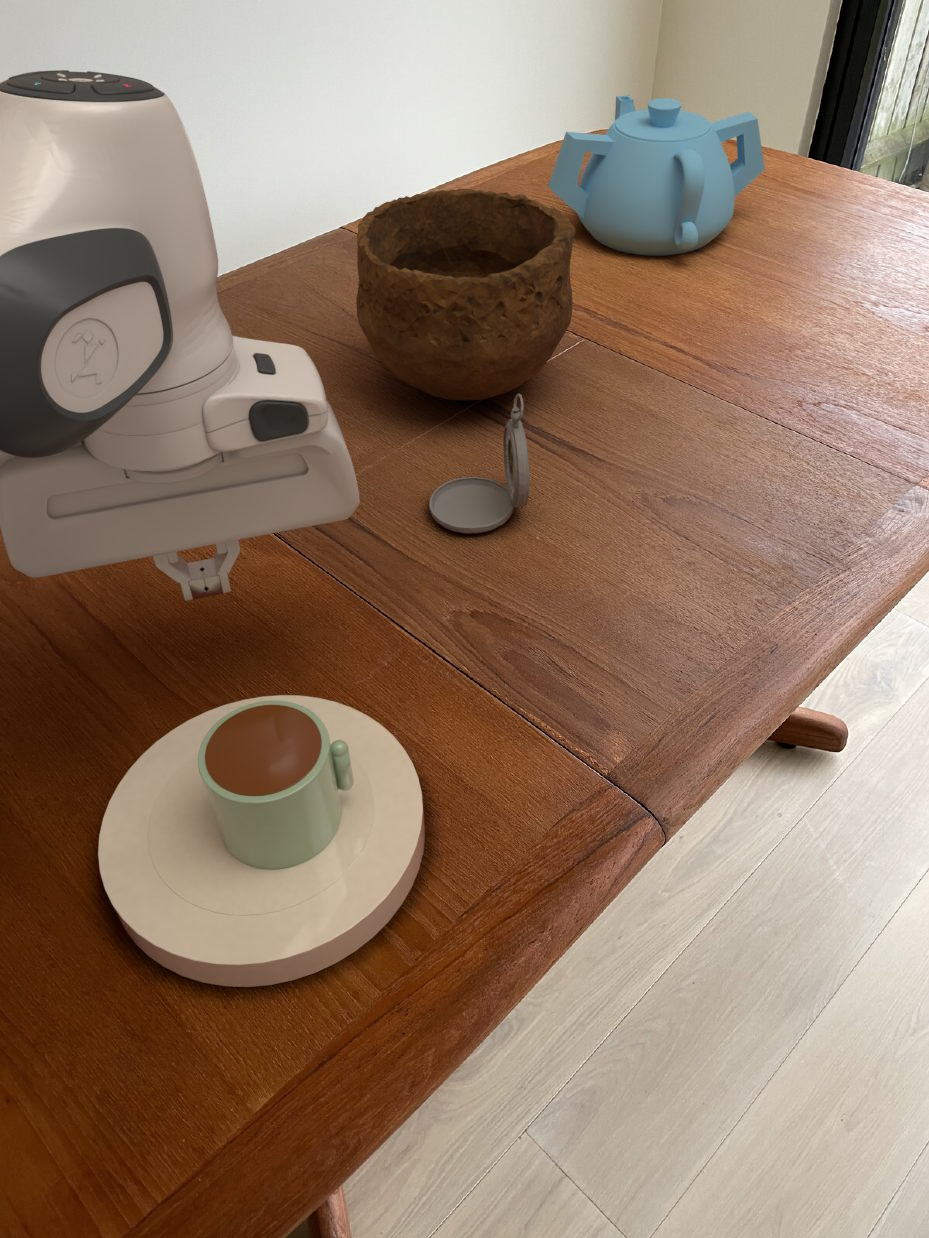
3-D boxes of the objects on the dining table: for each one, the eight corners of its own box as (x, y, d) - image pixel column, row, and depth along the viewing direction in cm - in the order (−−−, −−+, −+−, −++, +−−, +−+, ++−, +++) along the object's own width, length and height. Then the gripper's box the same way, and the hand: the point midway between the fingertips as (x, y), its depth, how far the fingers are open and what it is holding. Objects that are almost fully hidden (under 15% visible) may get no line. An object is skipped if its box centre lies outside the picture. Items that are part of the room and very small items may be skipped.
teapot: (759, 217, 119) (780, 90, 110) (688, 281, 108) (705, 146, 99) (614, 187, 128) (622, 66, 118) (535, 243, 116) (536, 115, 107)
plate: (114, 1029, 51) (100, 1006, 49) (105, 756, 63) (94, 731, 62) (461, 934, 54) (460, 910, 52) (387, 693, 66) (384, 667, 65)
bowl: (609, 373, 95) (622, 214, 85) (484, 466, 85) (481, 298, 74) (455, 317, 104) (449, 166, 93) (324, 394, 93) (302, 235, 83)
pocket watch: (413, 509, 81) (404, 400, 74) (492, 468, 84) (491, 360, 77) (479, 559, 76) (477, 447, 69) (561, 513, 80) (566, 402, 73)
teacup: (226, 883, 54) (203, 816, 49) (214, 784, 58) (191, 714, 54) (369, 847, 55) (357, 779, 51) (345, 753, 60) (333, 683, 56)
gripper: (-49, 465, 50) (35, 659, 60) (354, 399, 55) (373, 590, 64) (-41, 401, 55) (36, 591, 64) (331, 344, 59) (352, 531, 68)
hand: (207, 590), depth 64 cm, fingers closed
